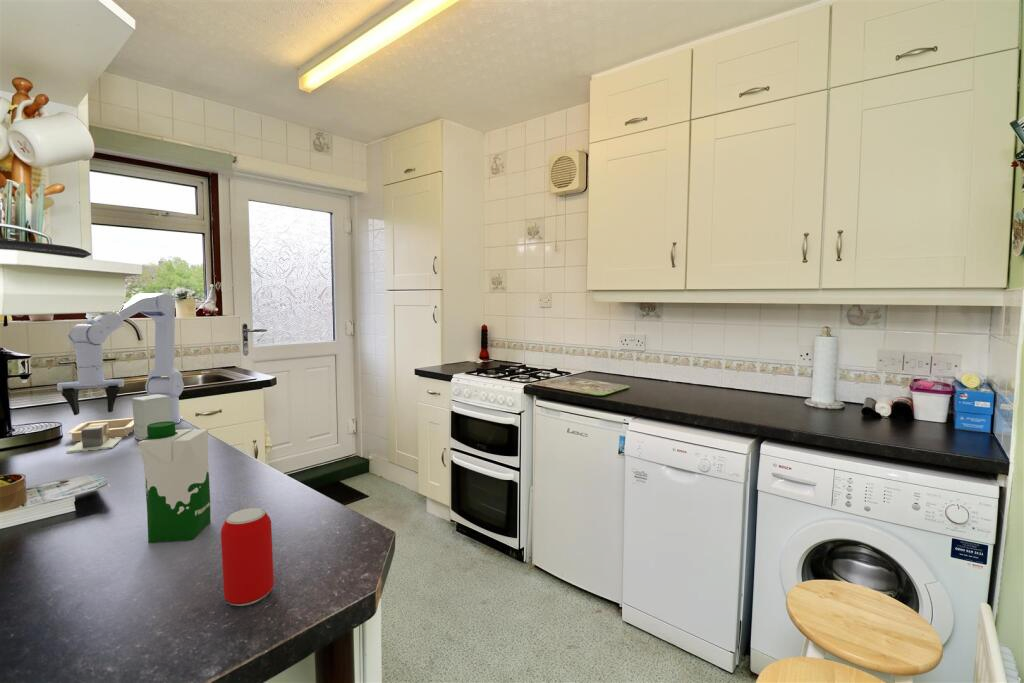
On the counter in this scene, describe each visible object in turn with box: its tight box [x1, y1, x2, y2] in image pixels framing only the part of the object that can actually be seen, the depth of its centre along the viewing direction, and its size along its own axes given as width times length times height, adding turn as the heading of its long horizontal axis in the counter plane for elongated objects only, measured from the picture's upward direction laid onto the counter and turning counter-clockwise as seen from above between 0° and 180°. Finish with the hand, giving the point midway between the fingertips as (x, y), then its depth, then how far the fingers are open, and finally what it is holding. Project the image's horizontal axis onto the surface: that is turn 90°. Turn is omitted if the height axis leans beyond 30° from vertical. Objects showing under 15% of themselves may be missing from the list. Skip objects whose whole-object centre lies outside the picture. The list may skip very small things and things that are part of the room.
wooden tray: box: [66, 417, 134, 443], centre depth 151 cm, size 15×15×3 cm
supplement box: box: [131, 394, 171, 441], centre depth 147 cm, size 7×7×13 cm
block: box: [81, 422, 109, 448], centre depth 140 cm, size 8×4×5 cm, turn 26°
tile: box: [66, 437, 123, 454], centre depth 139 cm, size 10×10×1 cm
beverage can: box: [220, 507, 275, 607], centre depth 68 cm, size 6×6×12 cm
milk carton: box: [137, 421, 211, 544], centre depth 87 cm, size 9×9×20 cm
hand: (93, 413), depth 140 cm, fingers open, 7 cm apart
